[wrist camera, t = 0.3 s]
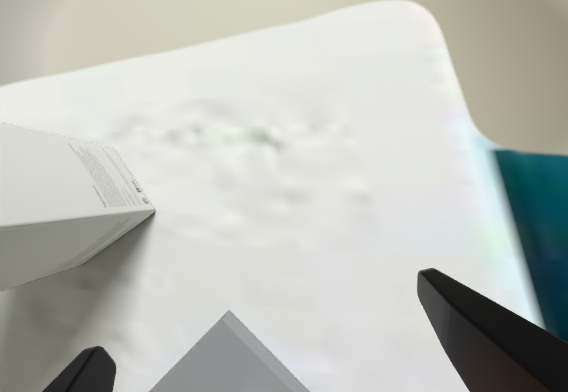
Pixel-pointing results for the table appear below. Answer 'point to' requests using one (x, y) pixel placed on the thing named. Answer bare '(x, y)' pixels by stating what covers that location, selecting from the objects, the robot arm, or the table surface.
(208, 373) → the grey stand
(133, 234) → the table surface
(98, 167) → the skincare box
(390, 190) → the table surface
